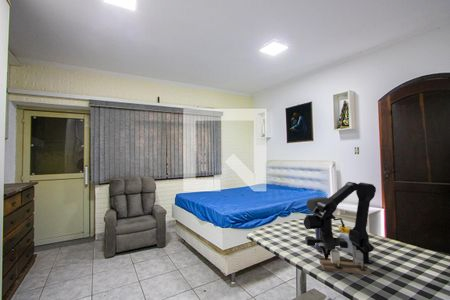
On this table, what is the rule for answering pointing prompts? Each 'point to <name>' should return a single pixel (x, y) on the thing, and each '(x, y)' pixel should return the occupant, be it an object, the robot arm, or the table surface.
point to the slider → (335, 256)
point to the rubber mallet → (311, 206)
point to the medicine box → (350, 246)
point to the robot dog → (343, 227)
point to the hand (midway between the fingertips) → (326, 259)
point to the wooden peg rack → (346, 264)
